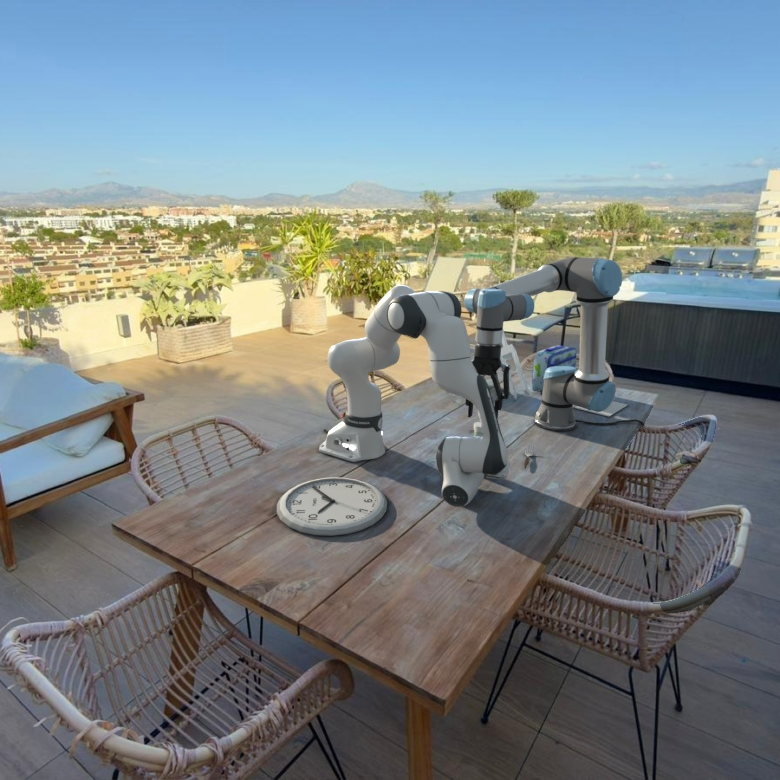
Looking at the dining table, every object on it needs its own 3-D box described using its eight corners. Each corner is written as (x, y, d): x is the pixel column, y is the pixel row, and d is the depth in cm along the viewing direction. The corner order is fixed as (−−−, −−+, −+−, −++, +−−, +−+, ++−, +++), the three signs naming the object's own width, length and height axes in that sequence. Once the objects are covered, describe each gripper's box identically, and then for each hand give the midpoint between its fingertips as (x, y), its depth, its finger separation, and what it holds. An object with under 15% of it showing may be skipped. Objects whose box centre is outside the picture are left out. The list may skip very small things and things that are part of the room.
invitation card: (608, 416, 214) (573, 407, 224) (608, 416, 214) (573, 408, 224) (628, 404, 229) (594, 396, 238) (628, 405, 229) (594, 397, 238)
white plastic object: (461, 429, 252) (437, 405, 227) (444, 352, 274) (420, 323, 250) (535, 404, 240) (518, 377, 215) (510, 326, 262) (492, 293, 237)
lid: (475, 433, 157) (475, 427, 156) (472, 426, 162) (472, 421, 161) (491, 433, 157) (492, 427, 156) (488, 427, 162) (488, 421, 161)
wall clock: (392, 527, 129) (268, 531, 127) (391, 533, 130) (269, 537, 127) (383, 473, 158) (282, 475, 155) (383, 478, 158) (282, 480, 156)
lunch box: (548, 398, 236) (553, 353, 229) (527, 393, 243) (531, 349, 237) (575, 387, 253) (581, 344, 247) (555, 382, 260) (560, 341, 254)
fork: (520, 469, 166) (521, 463, 165) (526, 450, 180) (526, 444, 180) (528, 470, 165) (529, 464, 164) (533, 451, 179) (534, 445, 179)
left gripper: (506, 468, 145) (514, 449, 157) (436, 455, 152) (449, 438, 165) (504, 488, 147) (513, 468, 159) (435, 475, 154) (448, 457, 167)
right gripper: (525, 344, 151) (518, 418, 158) (458, 337, 158) (454, 409, 165) (521, 349, 144) (513, 427, 151) (451, 342, 152) (447, 416, 158)
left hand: (480, 453), depth 162 cm, fingers open, 8 cm apart
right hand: (482, 417), depth 158 cm, fingers open, 7 cm apart
